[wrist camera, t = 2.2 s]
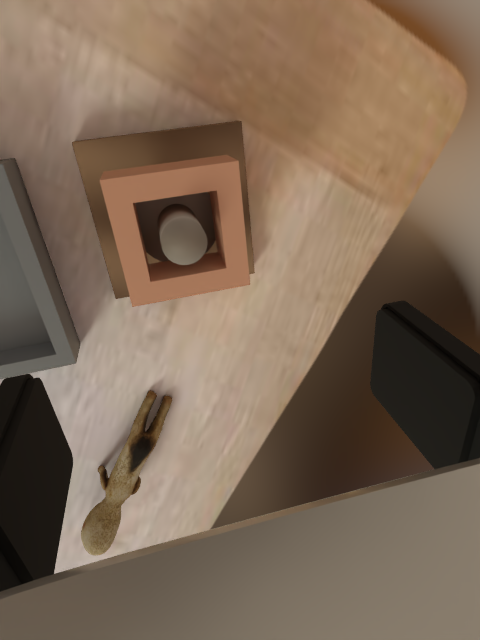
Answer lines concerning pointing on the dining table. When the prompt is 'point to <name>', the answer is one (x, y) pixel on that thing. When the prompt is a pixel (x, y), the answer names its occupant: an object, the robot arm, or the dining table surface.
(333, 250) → the dining table surface
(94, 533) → the figurine
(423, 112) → the dining table surface
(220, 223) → the ring
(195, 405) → the dining table surface
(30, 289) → the tray
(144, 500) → the dining table surface
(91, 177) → the brown piece
